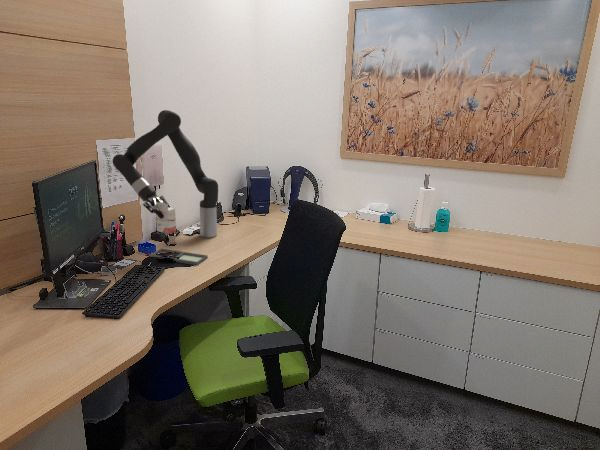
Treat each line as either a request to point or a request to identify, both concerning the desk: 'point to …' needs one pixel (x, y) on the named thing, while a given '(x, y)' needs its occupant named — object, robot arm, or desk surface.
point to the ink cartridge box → (166, 219)
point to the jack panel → (184, 256)
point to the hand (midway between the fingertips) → (166, 216)
